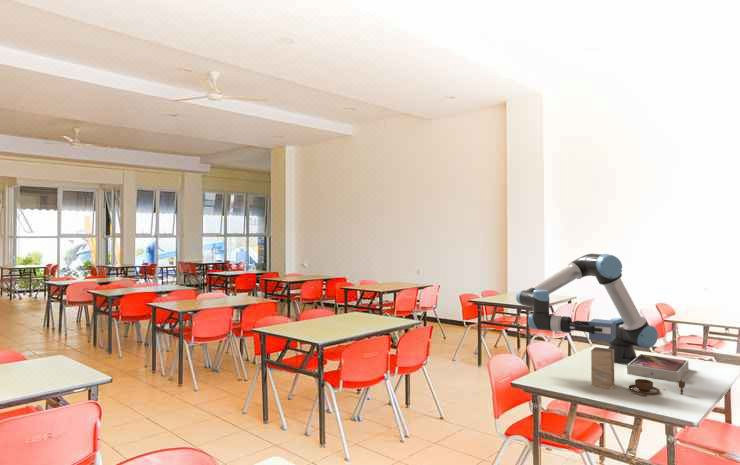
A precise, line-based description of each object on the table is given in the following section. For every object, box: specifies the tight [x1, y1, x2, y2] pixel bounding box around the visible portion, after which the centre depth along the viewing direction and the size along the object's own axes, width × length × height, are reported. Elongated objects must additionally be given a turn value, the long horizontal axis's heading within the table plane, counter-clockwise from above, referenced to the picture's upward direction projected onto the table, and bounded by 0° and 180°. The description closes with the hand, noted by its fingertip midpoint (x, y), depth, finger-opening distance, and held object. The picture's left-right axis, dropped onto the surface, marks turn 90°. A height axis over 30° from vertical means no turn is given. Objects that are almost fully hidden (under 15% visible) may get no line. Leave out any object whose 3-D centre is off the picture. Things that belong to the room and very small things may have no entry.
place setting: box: [628, 378, 686, 398], centre depth 216 cm, size 18×20×6 cm
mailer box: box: [590, 346, 615, 390], centre depth 228 cm, size 8×8×16 cm
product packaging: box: [626, 353, 689, 383], centre depth 250 cm, size 22×28×5 cm
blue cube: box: [588, 318, 616, 343], centre depth 228 cm, size 9×9×8 cm
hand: (612, 329), depth 226 cm, fingers closed on blue cube, 9 cm apart
